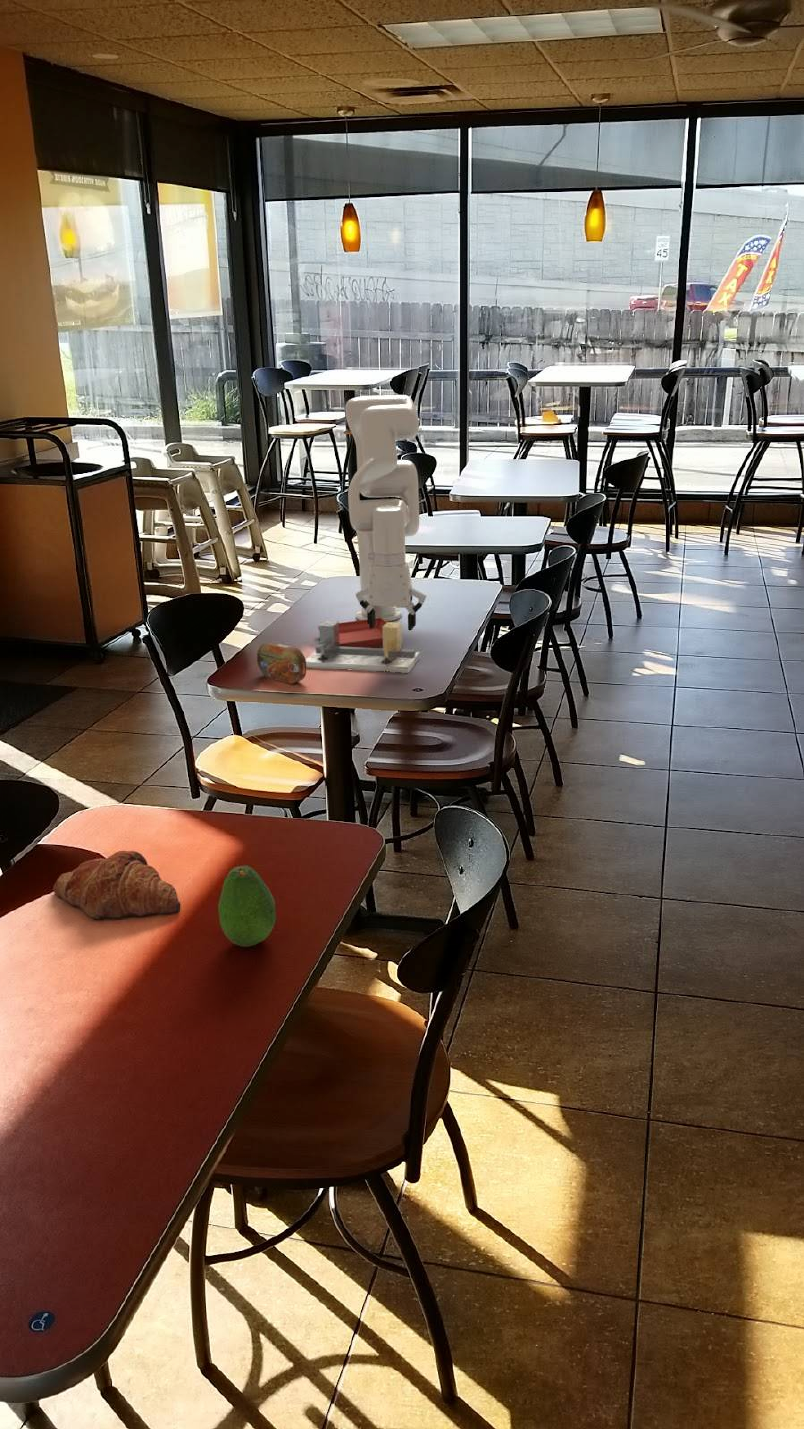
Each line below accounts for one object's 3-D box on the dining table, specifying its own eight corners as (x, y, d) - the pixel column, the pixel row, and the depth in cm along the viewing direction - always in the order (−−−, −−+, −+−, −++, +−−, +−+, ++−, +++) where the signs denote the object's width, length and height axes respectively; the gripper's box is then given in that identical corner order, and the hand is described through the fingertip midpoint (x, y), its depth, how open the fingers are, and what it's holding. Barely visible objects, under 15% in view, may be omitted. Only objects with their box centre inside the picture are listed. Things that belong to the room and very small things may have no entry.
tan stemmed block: (388, 649, 282) (387, 622, 279) (402, 650, 281) (401, 622, 278) (378, 660, 274) (377, 632, 271) (393, 660, 273) (392, 632, 270)
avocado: (211, 952, 158) (203, 875, 154) (238, 924, 165) (231, 849, 160) (262, 963, 155) (256, 884, 151) (288, 933, 162) (283, 858, 158)
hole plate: (319, 653, 287) (317, 619, 284) (419, 657, 281) (418, 623, 278) (303, 667, 276) (301, 633, 273) (408, 673, 270) (407, 637, 267)
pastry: (65, 940, 163) (57, 890, 160) (53, 891, 176) (46, 845, 173) (182, 914, 168) (177, 866, 165) (162, 869, 182) (157, 824, 179)
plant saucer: (335, 656, 286) (334, 643, 285) (316, 637, 302) (316, 625, 301) (403, 647, 291) (403, 634, 290) (381, 629, 307) (381, 617, 306)
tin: (257, 675, 273) (254, 641, 270) (267, 671, 275) (264, 638, 272) (299, 687, 263) (297, 652, 260) (309, 684, 265) (307, 649, 262)
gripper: (350, 561, 270) (353, 630, 276) (421, 564, 266) (423, 634, 272) (359, 553, 277) (361, 621, 283) (428, 556, 273) (430, 625, 279)
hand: (391, 627), depth 278 cm, fingers open, 9 cm apart
